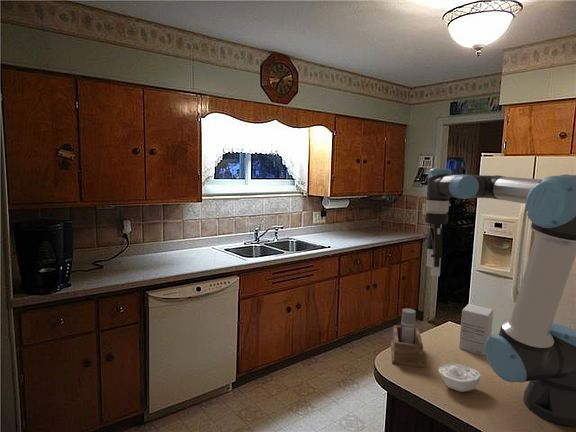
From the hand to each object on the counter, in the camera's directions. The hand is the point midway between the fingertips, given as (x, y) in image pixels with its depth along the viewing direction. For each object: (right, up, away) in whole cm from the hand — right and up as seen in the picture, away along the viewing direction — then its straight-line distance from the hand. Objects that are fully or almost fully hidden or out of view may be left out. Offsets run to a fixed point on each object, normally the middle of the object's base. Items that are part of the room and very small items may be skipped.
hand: (432, 270), depth 137 cm
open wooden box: (-11, -29, -3) cm, 31 cm away
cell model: (-1, -32, -23) cm, 39 cm away
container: (-11, -28, -3) cm, 30 cm away
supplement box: (+17, -29, +3) cm, 34 cm away
